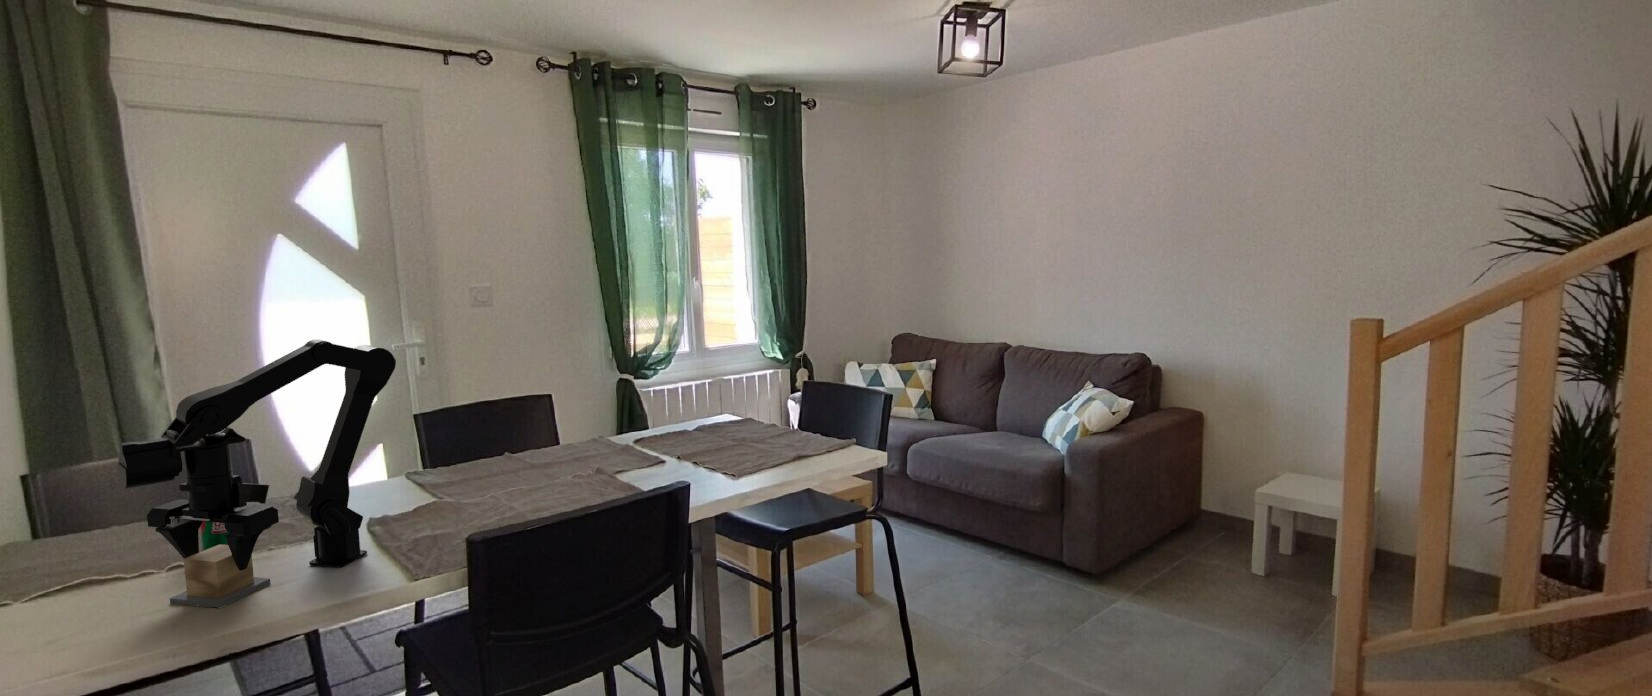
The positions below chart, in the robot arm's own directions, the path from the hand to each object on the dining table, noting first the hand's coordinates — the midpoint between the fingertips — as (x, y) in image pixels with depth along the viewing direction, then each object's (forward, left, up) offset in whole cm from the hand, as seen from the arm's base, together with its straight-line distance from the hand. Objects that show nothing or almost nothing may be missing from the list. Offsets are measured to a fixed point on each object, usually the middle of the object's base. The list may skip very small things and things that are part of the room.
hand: (218, 567), depth 121 cm
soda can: (+17, -15, -5) cm, 23 cm away
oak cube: (0, 0, -4) cm, 4 cm away
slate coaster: (0, 0, -4) cm, 4 cm away
